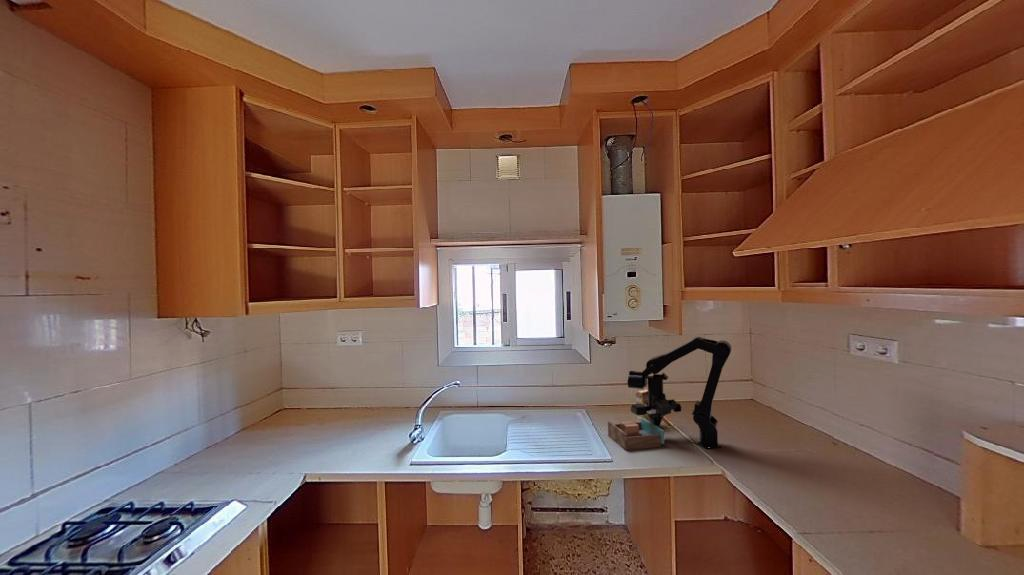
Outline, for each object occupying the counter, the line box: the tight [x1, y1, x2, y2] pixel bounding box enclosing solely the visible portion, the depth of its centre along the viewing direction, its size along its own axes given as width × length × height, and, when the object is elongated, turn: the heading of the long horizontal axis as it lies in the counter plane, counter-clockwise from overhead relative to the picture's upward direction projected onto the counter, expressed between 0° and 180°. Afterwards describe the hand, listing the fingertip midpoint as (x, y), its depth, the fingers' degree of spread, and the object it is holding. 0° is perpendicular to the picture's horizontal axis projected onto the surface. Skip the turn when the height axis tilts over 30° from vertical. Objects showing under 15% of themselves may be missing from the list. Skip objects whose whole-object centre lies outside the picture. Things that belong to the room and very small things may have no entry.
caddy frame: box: [607, 421, 662, 451], centre depth 178 cm, size 16×14×6 cm
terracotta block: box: [620, 421, 639, 437], centre depth 177 cm, size 5×5×5 cm
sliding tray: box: [639, 418, 665, 445], centre depth 178 cm, size 16×14×5 cm
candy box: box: [635, 388, 652, 423], centre depth 195 cm, size 9×4×15 cm, turn 116°
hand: (656, 429), depth 181 cm, fingers closed
